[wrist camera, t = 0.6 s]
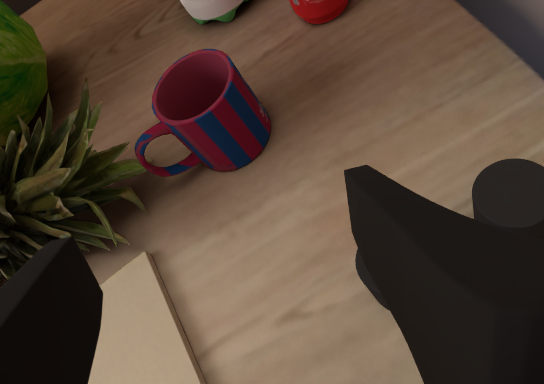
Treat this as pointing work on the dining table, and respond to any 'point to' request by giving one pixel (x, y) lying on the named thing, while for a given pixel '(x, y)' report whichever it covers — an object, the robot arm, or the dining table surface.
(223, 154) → the cup
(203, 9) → the cup
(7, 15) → the lettuce
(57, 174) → the fruit
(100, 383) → the face board
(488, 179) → the dot
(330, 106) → the dining table surface
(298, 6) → the beverage can
